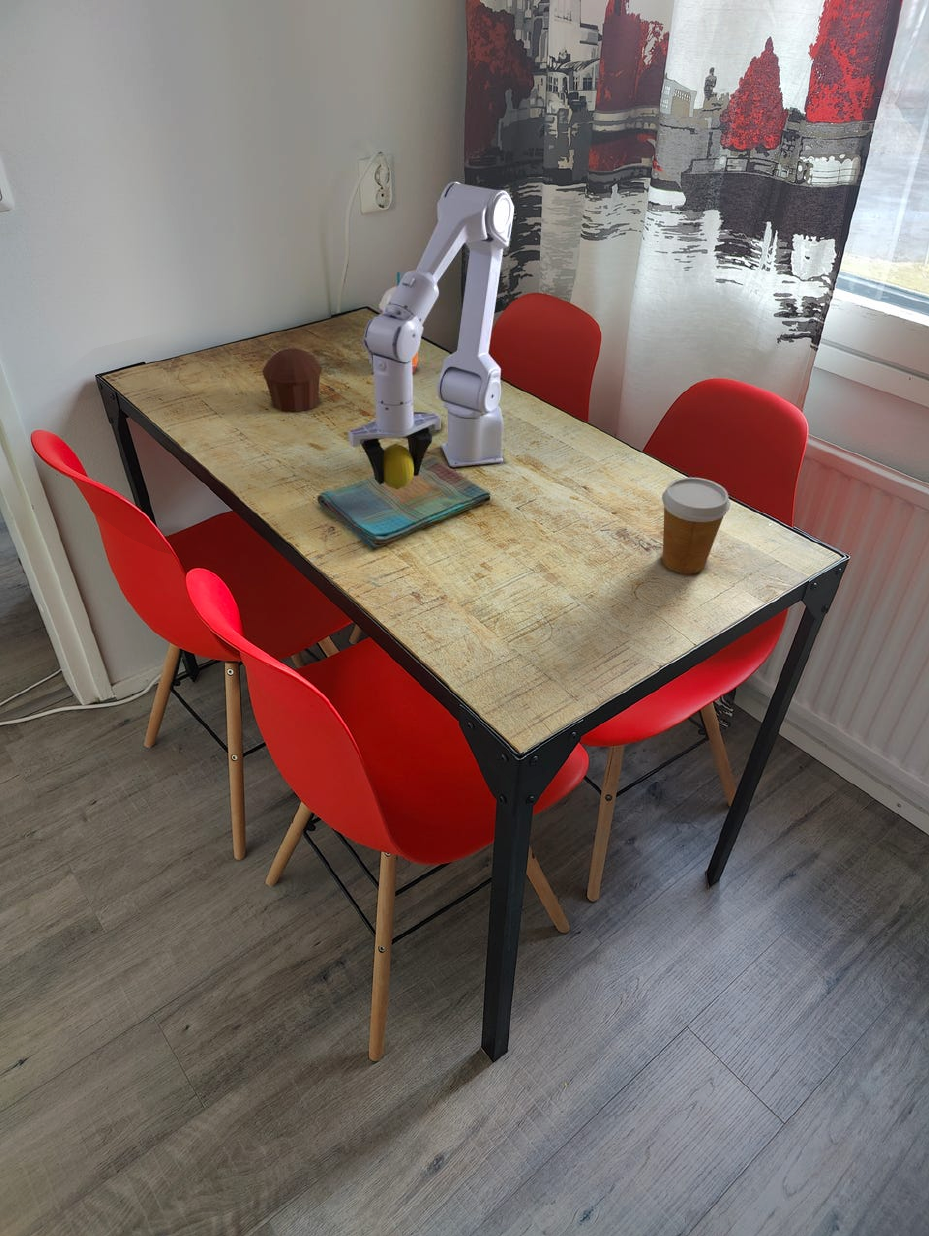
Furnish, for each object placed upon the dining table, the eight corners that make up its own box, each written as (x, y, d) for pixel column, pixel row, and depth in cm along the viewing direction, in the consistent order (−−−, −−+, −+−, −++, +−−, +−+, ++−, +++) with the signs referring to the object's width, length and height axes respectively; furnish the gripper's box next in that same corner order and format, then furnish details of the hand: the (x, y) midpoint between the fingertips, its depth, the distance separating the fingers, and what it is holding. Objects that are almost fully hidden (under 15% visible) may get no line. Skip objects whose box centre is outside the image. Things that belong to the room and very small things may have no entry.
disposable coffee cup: (671, 537, 140) (683, 469, 132) (727, 560, 135) (743, 490, 128) (639, 564, 134) (650, 494, 127) (696, 588, 129) (712, 517, 122)
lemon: (414, 497, 143) (413, 452, 138) (379, 498, 142) (376, 452, 137) (414, 480, 147) (413, 435, 142) (381, 480, 147) (378, 435, 142)
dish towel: (314, 505, 146) (313, 491, 145) (430, 462, 158) (430, 449, 156) (374, 552, 136) (373, 538, 134) (493, 503, 147) (493, 489, 146)
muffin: (314, 417, 171) (309, 367, 164) (258, 412, 172) (251, 362, 166) (331, 391, 180) (327, 342, 174) (278, 387, 181) (272, 338, 175)
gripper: (427, 378, 140) (428, 456, 149) (339, 395, 135) (345, 475, 143) (446, 396, 135) (446, 475, 144) (355, 414, 130) (361, 495, 139)
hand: (397, 476), depth 143 cm, fingers closed on lemon, 5 cm apart
